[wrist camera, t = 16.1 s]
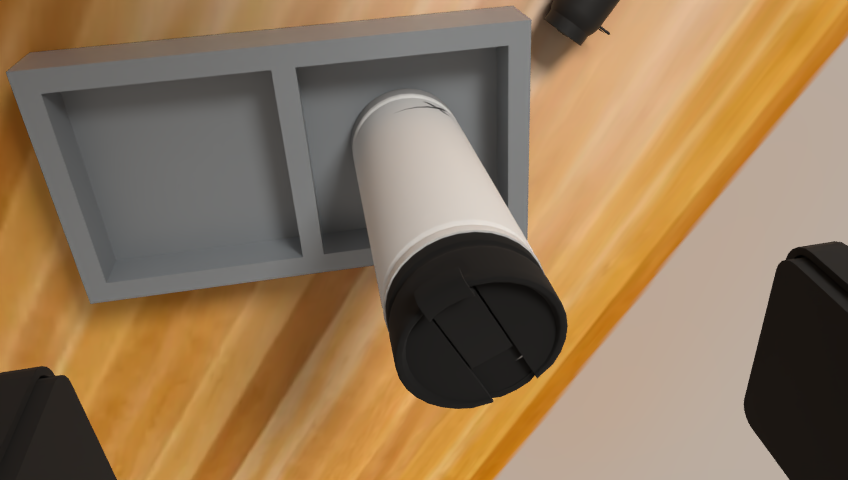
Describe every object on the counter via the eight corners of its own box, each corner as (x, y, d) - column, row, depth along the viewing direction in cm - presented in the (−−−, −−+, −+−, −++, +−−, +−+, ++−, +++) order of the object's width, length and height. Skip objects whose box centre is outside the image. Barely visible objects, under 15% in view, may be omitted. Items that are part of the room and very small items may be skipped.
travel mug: (421, 60, 38) (525, 238, 21) (475, 153, 42) (604, 371, 25) (325, 119, 39) (352, 337, 22) (386, 206, 43) (450, 454, 25)
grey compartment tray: (29, 52, 36) (5, 71, 33) (512, 5, 39) (531, 19, 36) (104, 271, 43) (90, 303, 40) (511, 217, 46) (527, 244, 43)
